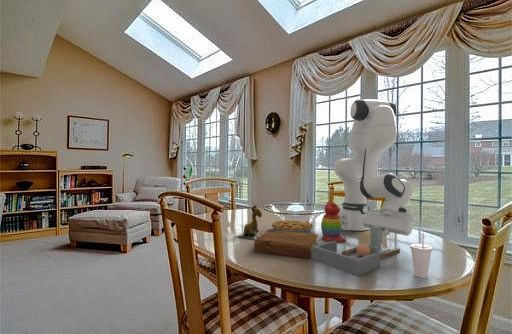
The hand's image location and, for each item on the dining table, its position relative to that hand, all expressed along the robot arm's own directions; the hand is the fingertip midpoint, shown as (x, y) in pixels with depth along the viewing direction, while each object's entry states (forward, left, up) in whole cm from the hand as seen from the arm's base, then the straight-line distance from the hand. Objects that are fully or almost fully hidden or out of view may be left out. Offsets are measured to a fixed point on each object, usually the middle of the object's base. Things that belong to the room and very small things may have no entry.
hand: (379, 238), depth 119 cm
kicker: (0, -2, -5) cm, 6 cm away
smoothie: (+22, -12, -6) cm, 26 cm away
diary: (-25, -28, -6) cm, 38 cm away
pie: (-46, -5, -6) cm, 47 cm away
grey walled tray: (0, -22, -5) cm, 23 cm away
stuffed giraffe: (-54, -27, -6) cm, 60 cm away
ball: (0, -11, -3) cm, 11 cm away
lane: (0, -5, -5) cm, 8 cm away
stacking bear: (-23, -1, -6) cm, 24 cm away
